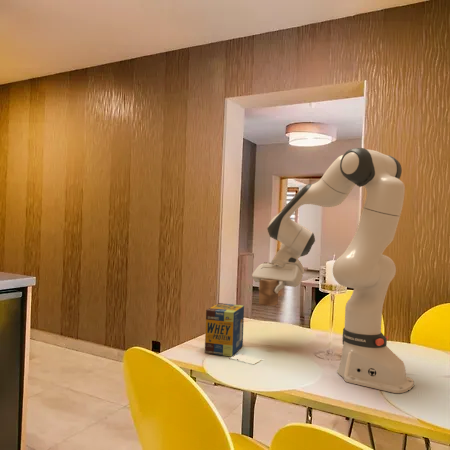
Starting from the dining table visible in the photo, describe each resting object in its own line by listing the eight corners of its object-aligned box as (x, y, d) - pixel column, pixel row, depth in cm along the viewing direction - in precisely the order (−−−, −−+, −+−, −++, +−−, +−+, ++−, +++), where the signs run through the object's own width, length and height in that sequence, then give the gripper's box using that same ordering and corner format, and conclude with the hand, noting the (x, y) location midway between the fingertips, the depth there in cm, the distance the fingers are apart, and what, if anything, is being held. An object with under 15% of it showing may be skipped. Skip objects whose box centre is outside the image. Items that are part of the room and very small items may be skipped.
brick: (277, 304, 153) (278, 280, 153) (269, 306, 150) (270, 281, 150) (266, 302, 157) (267, 279, 157) (258, 304, 153) (259, 280, 153)
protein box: (204, 353, 145) (205, 309, 146) (217, 342, 160) (218, 302, 160) (232, 357, 142) (233, 312, 143) (243, 345, 157) (244, 304, 157)
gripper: (258, 256, 166) (242, 282, 158) (302, 260, 152) (287, 288, 144) (265, 267, 169) (249, 293, 161) (308, 271, 155) (293, 300, 148)
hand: (267, 291), depth 153 cm, fingers closed on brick, 5 cm apart
